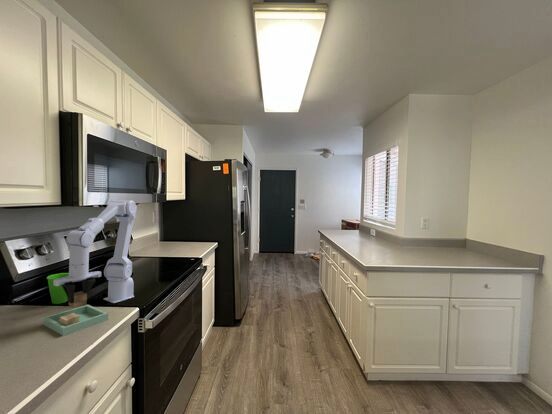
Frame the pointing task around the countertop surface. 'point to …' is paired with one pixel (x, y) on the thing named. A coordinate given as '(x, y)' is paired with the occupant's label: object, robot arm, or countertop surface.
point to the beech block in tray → (69, 319)
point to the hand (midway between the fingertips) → (78, 300)
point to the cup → (57, 289)
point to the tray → (86, 319)
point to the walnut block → (79, 299)
